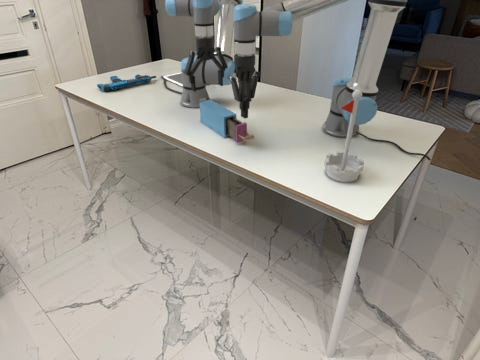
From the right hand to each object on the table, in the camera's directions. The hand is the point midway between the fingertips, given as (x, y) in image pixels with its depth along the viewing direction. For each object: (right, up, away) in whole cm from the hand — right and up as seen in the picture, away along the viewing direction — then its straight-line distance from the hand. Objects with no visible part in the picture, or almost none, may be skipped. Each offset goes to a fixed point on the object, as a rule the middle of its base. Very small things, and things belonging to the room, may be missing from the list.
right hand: (244, 117), depth 132 cm
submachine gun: (-72, +35, +76) cm, 110 cm away
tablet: (-35, +38, +81) cm, 96 cm away
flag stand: (+34, -22, -12) cm, 43 cm away
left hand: (-16, +16, +18) cm, 29 cm away
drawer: (-5, -5, +12) cm, 14 cm away
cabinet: (-12, -1, +21) cm, 24 cm away
